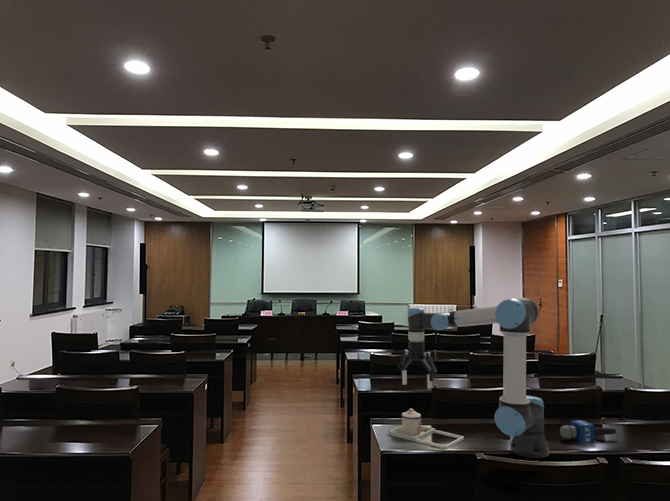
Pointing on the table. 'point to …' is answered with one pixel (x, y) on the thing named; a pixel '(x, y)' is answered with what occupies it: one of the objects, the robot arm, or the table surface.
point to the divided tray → (429, 431)
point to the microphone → (583, 431)
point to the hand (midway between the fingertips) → (417, 386)
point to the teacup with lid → (411, 423)
